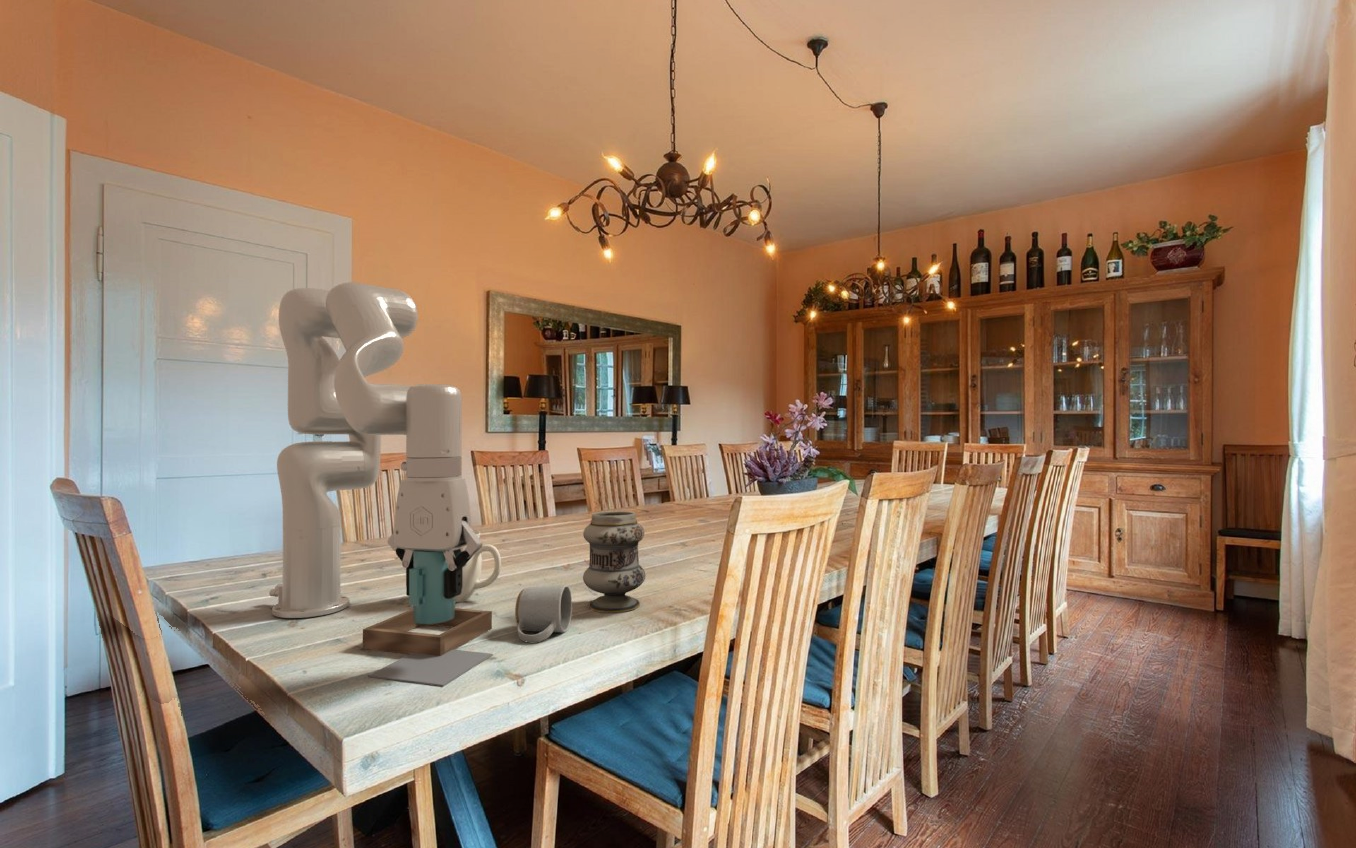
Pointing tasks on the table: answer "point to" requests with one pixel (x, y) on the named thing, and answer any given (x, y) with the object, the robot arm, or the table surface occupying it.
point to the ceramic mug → (543, 611)
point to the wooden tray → (398, 640)
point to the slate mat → (431, 667)
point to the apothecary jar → (614, 560)
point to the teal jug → (429, 588)
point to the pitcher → (477, 571)
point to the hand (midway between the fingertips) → (434, 593)
